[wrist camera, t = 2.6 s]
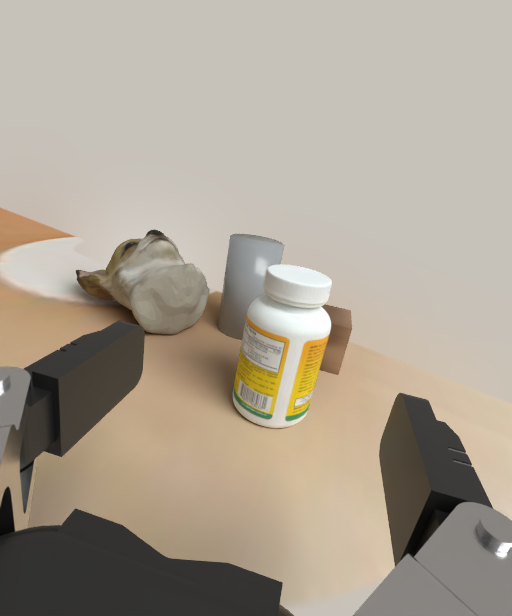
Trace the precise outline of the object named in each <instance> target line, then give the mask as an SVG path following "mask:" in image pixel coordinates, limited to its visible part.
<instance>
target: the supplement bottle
mask: <svg viewBox="0 0 512 616" xmlns="http://www.w3.org/2000/svg"><path fill="white" fill-rule="evenodd" d="M331 285H332V281H331V280H330V278H328V277H327V276H325V275H324V274H322V273H319V272H317V271H314V270H311V269H308V268H304V267H299V266H294V265H272V266H269V267H268V268H267V271H266V275H265V280H264V284H263V287H264V292H265V295H262V296H259V297H258V298H256V299H255V300H253V302H252V303H251V304H250V306H249V308H248V311H247V316H246V322H245V327H244V332H243V338H242V344H241V350H240V355H239V361H238V366H237V371H236V377H235V382H234V388H233V402H234V405H235V407H236V408H237V410H238V411H239V412H240V413H241V414H242V415H243V416H244V417H245V418H247V419H248V420H250V421H251V422H253V423H256V424H258V425H261V426H264V427H270V428H285V427H290V426H293V425H295V424H296V423H298V422H300V421H301V420H302V419H303V418H304V417H305V416H306V414H307V411H308V408H309V405H310V401H311V397H312V394H313V390H314V387H315V383H316V380H317V376H318V373H319V369H320V366H321V362H322V359H323V355H324V351H325V348H326V345H327V341H328V338H329V334H330V330H331V320H330V317H329V315H328V313H327V312H326V311H325V310H324V309H323V308H322V307H321V306H323V305H324V304H325V303H326V301H327V300H328V298H329V293H330V289H331Z"/></svg>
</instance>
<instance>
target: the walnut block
mask: <svg viewBox="0 0 512 616" xmlns="http://www.w3.org/2000/svg"><path fill="white" fill-rule="evenodd" d="M321 307H322V308H323V309H324V310H325V311H326V312H327V313H328V315H329V317H330V320H331V330H330V334H329V338H328V341H327V345H326V348H325V351H324V355H323V359H322V362H321V366H320V369H319V370H321V371H325V372H329V373H333V374H337V375H338V374H339V371H340V367H341V364H342V361H343V357H344V354H345V350H346V347H347V344H348V340H349V337H350V334H351V330H352V324H351V311H350V310H346V309H342V308H337V307H333V306H329V305H325V304H324V305H323V306H321Z"/></svg>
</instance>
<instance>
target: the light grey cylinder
mask: <svg viewBox="0 0 512 616" xmlns="http://www.w3.org/2000/svg"><path fill="white" fill-rule="evenodd" d="M283 249H284V244H283V243H281V242H279V241H276V240H273V239H270V238H266V237H261V236H256V235H248V234H233V235H231V236H230V242H229V250H228V257H227V264H226V272H225V278H224V285H223V292H222V299H221V306H220V313H219V320H218V328H219V330H220V331H221V332H222V333H224V334H226V335H228V336H230V337H233V338H236V339H241V340H242V338H243V332H244V327H245V322H246V316H247V311H248V308H249V306H250V304H251V303H252V302H253V300H255V299H256V298H258V297H259V296H262V295H265V292H264V287H263V284H264V280H265V275H266V271H267V268H268V267H269V266H272V265H280V264H281V259H282V254H283Z"/></svg>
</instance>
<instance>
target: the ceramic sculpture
mask: <svg viewBox="0 0 512 616" xmlns="http://www.w3.org/2000/svg"><path fill="white" fill-rule="evenodd" d="M76 274H77V281H78V283H79V284H80V285H81V287H82V288H83V289H84V290H85V291H86V292H87V293H89V294H90V295H93V296H95V297H98V298H101V299H107V300H116V301H117V302H118V303H120V304H122V305H123V306H125V307H127V308H128V309H130V310H132V312H133V315H134V317H135V318H136V320H137V321H138V323H139V324H140V326H142V327H143V328H144V330H145V331H147V332H150V333H159V334H168V335H172V334H177V333H179V332H180V331H182V330H184V329H186V328H189V327H191V326H192V325H194V324H195V323H196V322H197V320H198V319H199V318H200V317H201V316H202V314H203V312H204V310H205V307H206V303H207V299H208V294H209V288H208V287H207V282H206V279H205V276H204V275H203V273H202V271H201V270H200V269H199V268H198V267H195V266H194V264H185V262H184V260H183V258H182V257H181V256H180V254H179V252H178V248H177V247H176V245H175V244H174V242H173V241H172V240H170V239H169V238H168V237H166V236H164V234H163V233H162V232H160V231H158V230H151V231H149V232H148V233H147V235H146V237H144V238H143V239H130V240H127V241H125V242H123V243H122V244H120V245H119V246H118V247H117V248H116V250H115V252H114V254H113V256H112V258H111V260H110V262H109V264H108V266H107V268H106V270H98V271H94V272H85V271H81V270H76Z"/></svg>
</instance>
